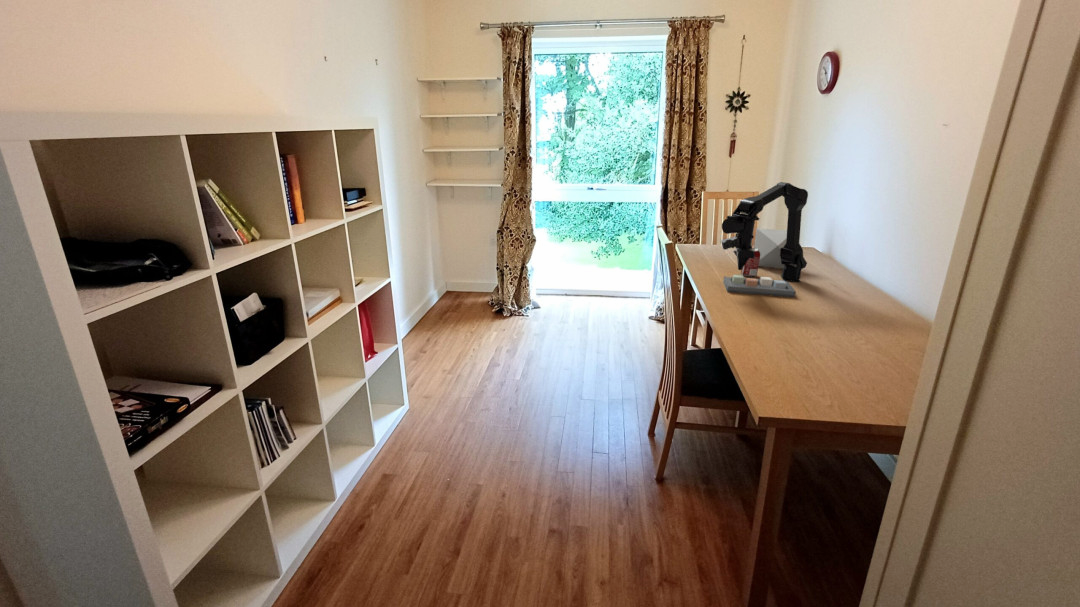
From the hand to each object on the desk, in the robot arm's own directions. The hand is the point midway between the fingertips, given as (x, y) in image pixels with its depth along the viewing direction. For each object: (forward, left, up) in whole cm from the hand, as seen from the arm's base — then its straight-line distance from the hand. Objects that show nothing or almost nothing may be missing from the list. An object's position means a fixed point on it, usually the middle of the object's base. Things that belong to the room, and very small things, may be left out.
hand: (739, 269), depth 206 cm
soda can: (-8, -21, -8) cm, 24 cm away
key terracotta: (-5, 0, -6) cm, 8 cm away
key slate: (-16, 0, -6) cm, 17 cm away
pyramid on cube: (-21, -41, -8) cm, 47 cm away
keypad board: (-8, 0, -8) cm, 11 cm away
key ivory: (-11, 0, -5) cm, 12 cm away
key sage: (0, 0, -5) cm, 5 cm away
